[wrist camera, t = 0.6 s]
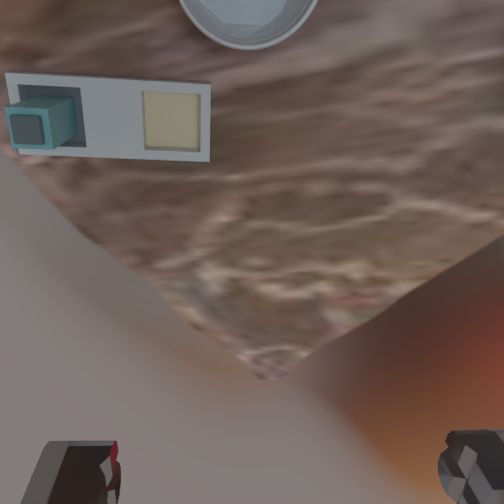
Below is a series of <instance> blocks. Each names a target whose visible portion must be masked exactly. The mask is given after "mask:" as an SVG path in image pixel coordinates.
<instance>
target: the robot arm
mask: <svg viewBox="0 0 504 504" xmlns="http://www.w3.org/2000/svg"><path fill="white" fill-rule="evenodd" d="M445 442H446V444H447V446H448V448H447V449H446V450H444V451H443V452H442V453H441V454H440V457H439V460H438V474H439V478H440V481H441V484H442V486H443V488H444V490H445V492H446V494H447V495H448V496H449V497H451V498H452V499H453V500H454V501H456V502H457V504H504V429H497V430H496V429H495V430H488V429H481V430H460V431H459V430H458V431H451V432H450V433H448V435H447V438H446V440H445ZM117 455H118V445H117V441H49V442H48V443H47V444H46V446H45V447H44V449H43V451H42V453H41V456H40V458H39V460H38V463H37V465H36V468H35V470H34V472H33V475H32V477H31V480H30V482H29V484H28V487H27V489H26V492H25V494H24V496H23V499H22V501H21V503H20V504H118V499H119V494H120V485H121V467H120V463H119V462H117V461H116V459H117Z"/></svg>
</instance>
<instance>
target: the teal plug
mask: <svg viewBox="0 0 504 504" xmlns="http://www.w3.org/2000/svg"><path fill="white" fill-rule="evenodd" d="M5 112H6V118H7V123H8V128H9V134H10V139H11V144H12V148H20V149H45V150H54V149H55V148H57V147H58V146H60V145H61V144H62V143H64V142H65V141H67V140H68V139H70V138H71V137H73V136H74V135H75V134H77V133H78V126H77V117H76V109H75V100H74V97H56V96H36V97H32V98H29V99H26V100H23V101H20V102H17V103H14V104H11V105H8V106H5Z"/></svg>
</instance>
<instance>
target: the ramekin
mask: <svg viewBox="0 0 504 504" xmlns="http://www.w3.org/2000/svg"><path fill="white" fill-rule="evenodd" d="M179 2H180V5H181V6H182V8H183V10H184V12H185V13H186V15H187V16H188V17H189V19H190V20H191V21H192V23H193V24H194V25H195V26H196V27H197V28H198V29H199V30H200V31H201V32H202V33H203V34H204V35H206V36H207V37H208V38H210V39H211V40H213V41H215V42H216V43H218V44H220V45H223V46H225V47H228V48H232V49H236V50H246V51H250V50H260V49H264V48H268V47H271V46H273V45H276V44H278V43H280V42H282V41H283V40H285V39H286V38H288V37H289V36H291V35H292V34H293V33H294V32H296V31H297V30H298V29H299V28H300V27H301V26H302V25H303V23H304V22H305V21H306V20H307V19H308V17H309V16H310V14H311V13H312V11H313V10H314V8H315V6H316V4H317V2H318V0H179Z"/></svg>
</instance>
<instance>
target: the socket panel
mask: <svg viewBox="0 0 504 504" xmlns="http://www.w3.org/2000/svg"><path fill="white" fill-rule="evenodd" d="M5 77H6V82H7V88H8V94H9V99H10V105H11V104H14V103H17V102H20V101H23V100H26V99H29V98H32V97H36V96H56V97H74V100H75V109H76V117H77V126H78V133H77V134H75V135H74V136H73V137H71V138H70V139H68V140H67V141H65V142H64V143H62V144H61V145H60V146H58V147H57V148H55V149H54V150H45V149H20V148H18V149H19V154H24V155H49V156H74V157H99V158H124V159H149V160H174V161H199V162H210V113H211V82H193V81H176V80H158V79H141V78H124V77H106V76H89V75H71V74H54V73H37V72H19V71H11V72H6V73H5Z"/></svg>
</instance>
